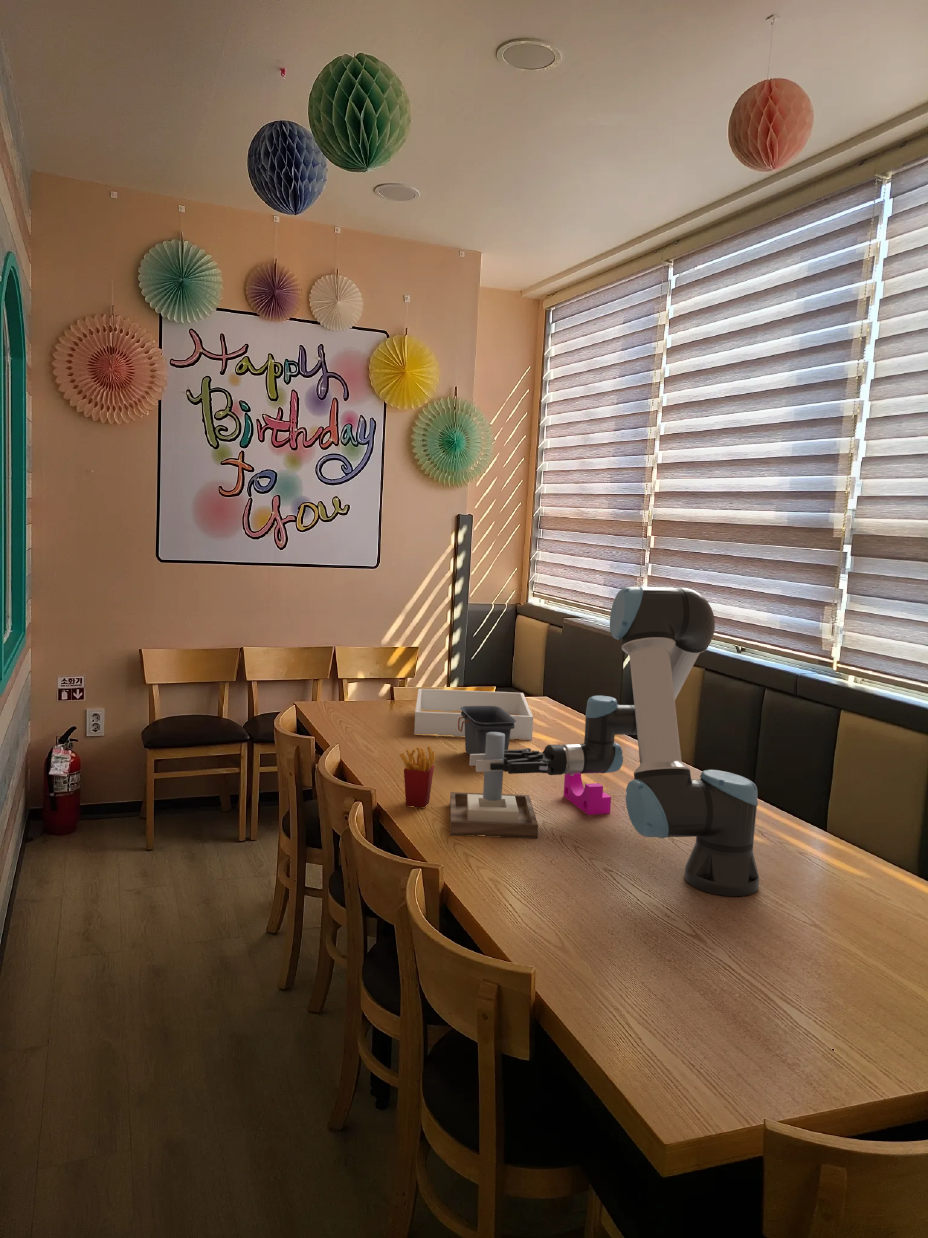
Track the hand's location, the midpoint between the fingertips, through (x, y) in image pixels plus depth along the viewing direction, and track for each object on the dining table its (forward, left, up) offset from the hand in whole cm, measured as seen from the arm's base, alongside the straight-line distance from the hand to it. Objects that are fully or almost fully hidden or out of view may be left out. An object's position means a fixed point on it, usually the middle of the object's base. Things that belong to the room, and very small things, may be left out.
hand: (473, 762), depth 221 cm
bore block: (+1, -5, -15) cm, 16 cm away
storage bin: (+56, -5, -15) cm, 58 cm away
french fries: (+12, +14, -15) cm, 24 cm away
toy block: (+16, -31, -15) cm, 38 cm away
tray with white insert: (+1, -5, -15) cm, 16 cm away
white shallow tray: (+101, -3, -15) cm, 102 cm away
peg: (+1, -5, -9) cm, 10 cm away
